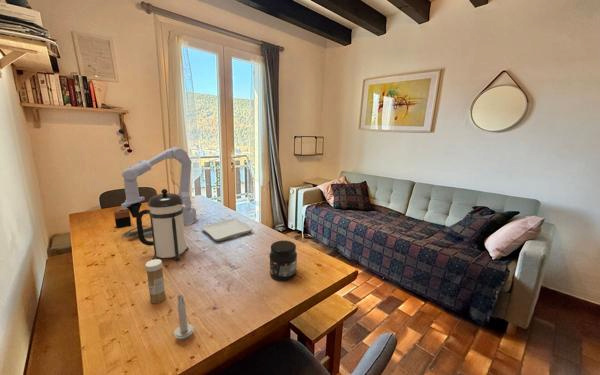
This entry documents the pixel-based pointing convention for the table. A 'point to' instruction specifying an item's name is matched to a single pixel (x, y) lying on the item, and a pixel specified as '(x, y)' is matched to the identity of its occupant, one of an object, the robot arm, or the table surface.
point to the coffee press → (164, 225)
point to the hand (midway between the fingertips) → (135, 217)
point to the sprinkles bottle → (155, 280)
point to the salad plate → (226, 229)
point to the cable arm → (137, 231)
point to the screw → (183, 322)
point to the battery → (122, 218)
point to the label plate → (146, 234)
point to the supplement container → (283, 260)
